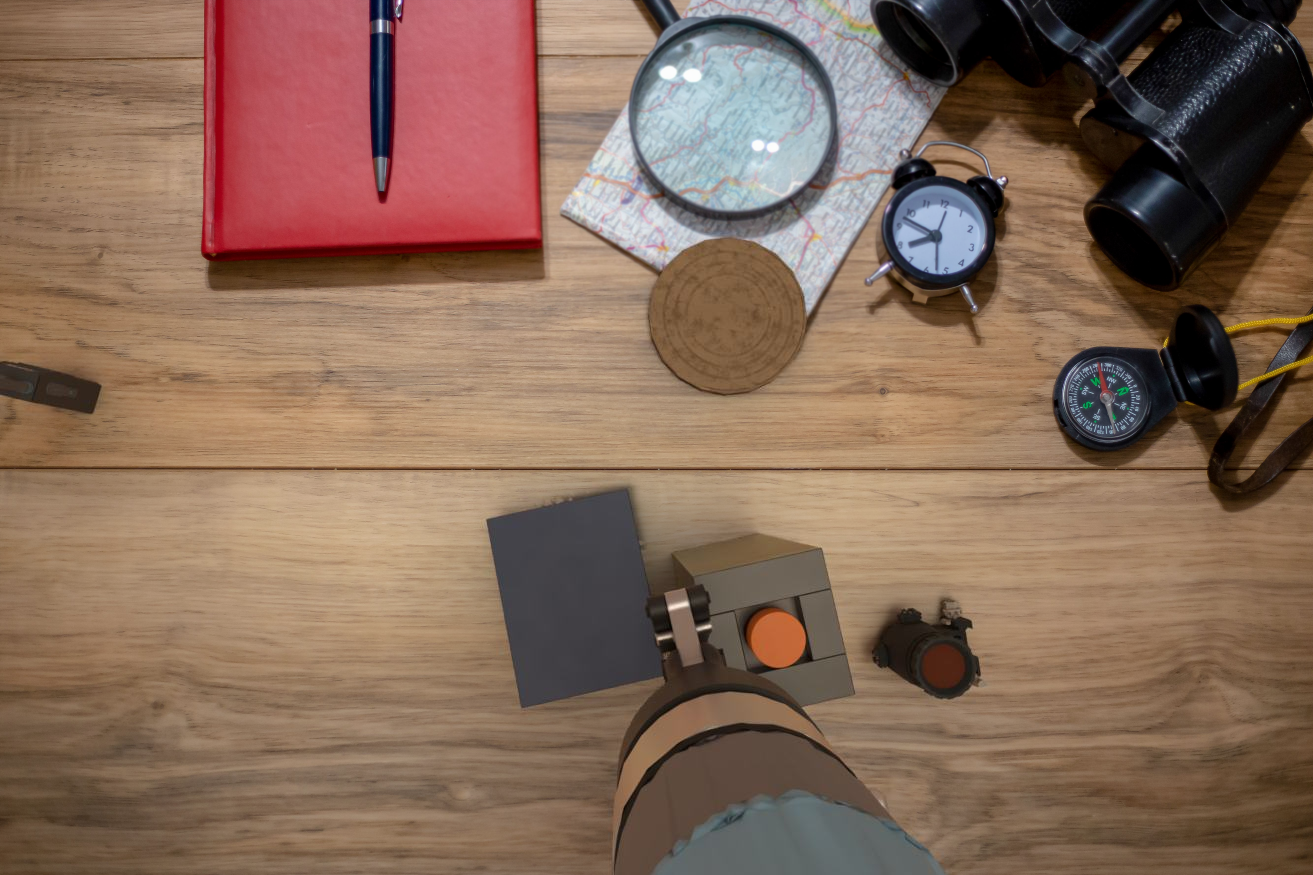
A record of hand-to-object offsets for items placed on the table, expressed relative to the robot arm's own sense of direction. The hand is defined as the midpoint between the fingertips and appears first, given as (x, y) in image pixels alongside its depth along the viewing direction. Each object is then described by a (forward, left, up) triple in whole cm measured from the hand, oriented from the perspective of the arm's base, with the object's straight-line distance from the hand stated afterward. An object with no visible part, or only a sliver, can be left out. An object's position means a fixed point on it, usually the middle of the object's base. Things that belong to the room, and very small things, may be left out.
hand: (685, 666), depth 52 cm
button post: (-1, -6, -37) cm, 37 cm away
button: (-1, -6, -7) cm, 10 cm away
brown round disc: (+26, -12, -37) cm, 47 cm away
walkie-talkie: (+32, +53, -37) cm, 72 cm away
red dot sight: (-10, -23, -37) cm, 45 cm away
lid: (+3, +8, -27) cm, 28 cm away
